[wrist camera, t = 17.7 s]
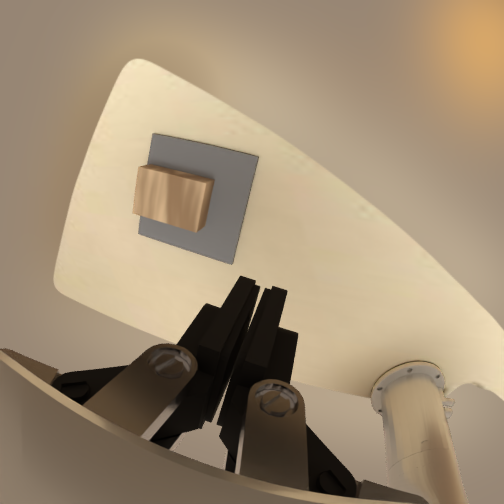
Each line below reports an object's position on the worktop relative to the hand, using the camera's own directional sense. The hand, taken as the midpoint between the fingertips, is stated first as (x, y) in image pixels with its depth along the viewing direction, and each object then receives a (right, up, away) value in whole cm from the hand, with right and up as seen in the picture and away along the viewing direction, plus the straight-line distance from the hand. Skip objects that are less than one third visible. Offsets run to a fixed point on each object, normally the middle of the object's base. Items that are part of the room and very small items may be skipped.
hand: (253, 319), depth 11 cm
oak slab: (-6, +8, +26) cm, 28 cm away
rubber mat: (-8, +9, +28) cm, 30 cm away
